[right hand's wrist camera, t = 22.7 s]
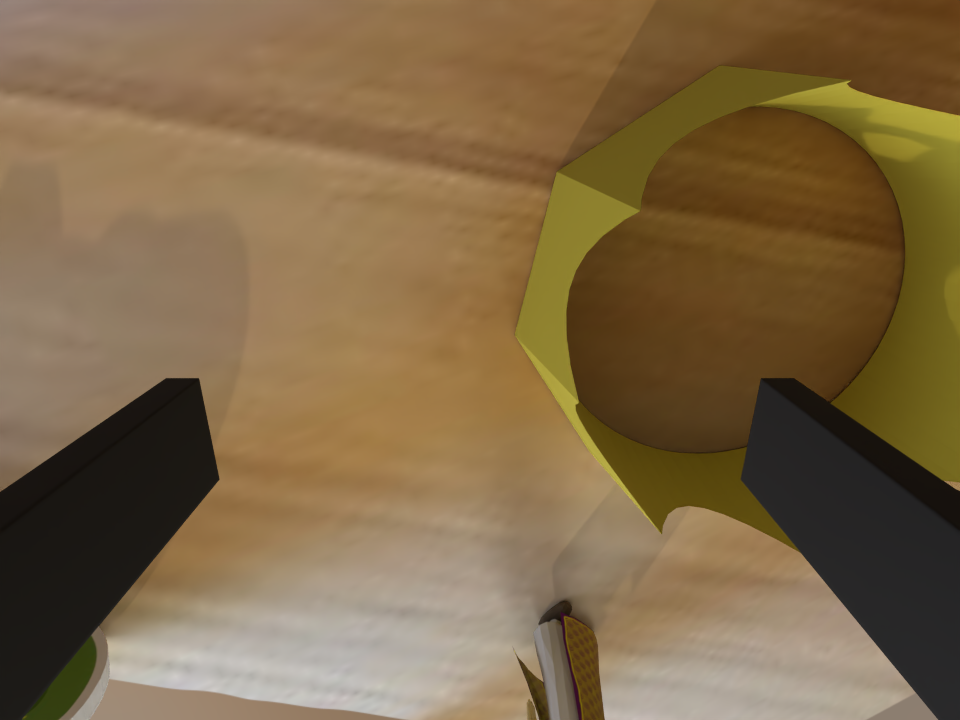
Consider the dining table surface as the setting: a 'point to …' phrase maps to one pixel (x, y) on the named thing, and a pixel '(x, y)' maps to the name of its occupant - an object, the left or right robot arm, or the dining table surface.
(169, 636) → the dining table surface
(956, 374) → the crown
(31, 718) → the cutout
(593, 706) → the figurine
